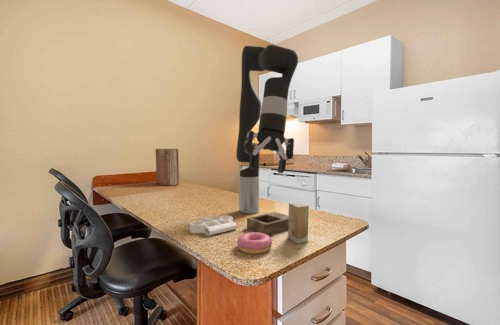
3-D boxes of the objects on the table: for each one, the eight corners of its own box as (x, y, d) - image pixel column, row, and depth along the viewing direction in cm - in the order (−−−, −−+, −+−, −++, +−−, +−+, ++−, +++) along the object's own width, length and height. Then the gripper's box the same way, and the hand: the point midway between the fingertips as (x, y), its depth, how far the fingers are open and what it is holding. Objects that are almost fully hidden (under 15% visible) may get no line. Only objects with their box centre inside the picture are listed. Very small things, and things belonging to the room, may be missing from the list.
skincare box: (287, 237, 89) (287, 202, 88) (298, 235, 90) (298, 201, 90) (297, 244, 83) (297, 206, 82) (308, 242, 84) (309, 205, 84)
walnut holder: (247, 228, 99) (246, 218, 98) (274, 221, 108) (274, 211, 108) (266, 236, 90) (266, 224, 90) (294, 227, 100) (294, 217, 100)
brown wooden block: (179, 185, 213) (178, 148, 211) (168, 186, 207) (167, 149, 205) (166, 182, 232) (165, 148, 230) (156, 183, 226) (155, 148, 224)
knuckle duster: (201, 239, 88) (184, 229, 100) (244, 229, 99) (224, 221, 110) (201, 230, 88) (184, 220, 99) (244, 221, 99) (224, 213, 110)
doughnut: (271, 242, 85) (271, 230, 84) (272, 256, 74) (272, 242, 74) (238, 241, 85) (238, 229, 85) (234, 255, 74) (234, 241, 74)
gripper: (289, 122, 80) (283, 173, 79) (246, 113, 75) (239, 168, 74) (301, 117, 72) (295, 174, 71) (254, 107, 68) (247, 168, 67)
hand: (266, 171), depth 73 cm, fingers open, 8 cm apart
